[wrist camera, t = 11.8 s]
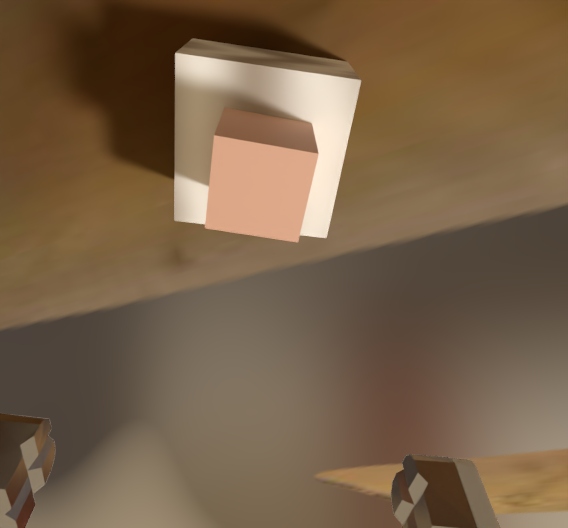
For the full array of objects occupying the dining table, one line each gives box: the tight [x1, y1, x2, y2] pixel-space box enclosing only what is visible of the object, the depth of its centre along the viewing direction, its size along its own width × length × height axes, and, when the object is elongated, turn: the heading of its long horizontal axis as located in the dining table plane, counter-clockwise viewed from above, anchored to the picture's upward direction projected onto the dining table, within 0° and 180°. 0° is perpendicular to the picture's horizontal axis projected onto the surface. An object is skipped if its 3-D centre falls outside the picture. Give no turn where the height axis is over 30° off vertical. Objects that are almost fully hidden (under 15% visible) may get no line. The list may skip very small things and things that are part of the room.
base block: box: [174, 38, 361, 238], centre depth 29 cm, size 10×10×6 cm
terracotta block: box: [205, 108, 319, 242], centre depth 25 cm, size 5×5×5 cm
